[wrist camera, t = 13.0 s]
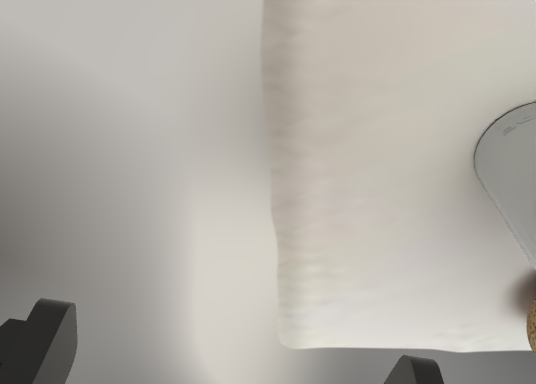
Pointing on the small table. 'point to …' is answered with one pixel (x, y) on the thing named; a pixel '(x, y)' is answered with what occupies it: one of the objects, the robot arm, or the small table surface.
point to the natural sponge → (532, 326)
